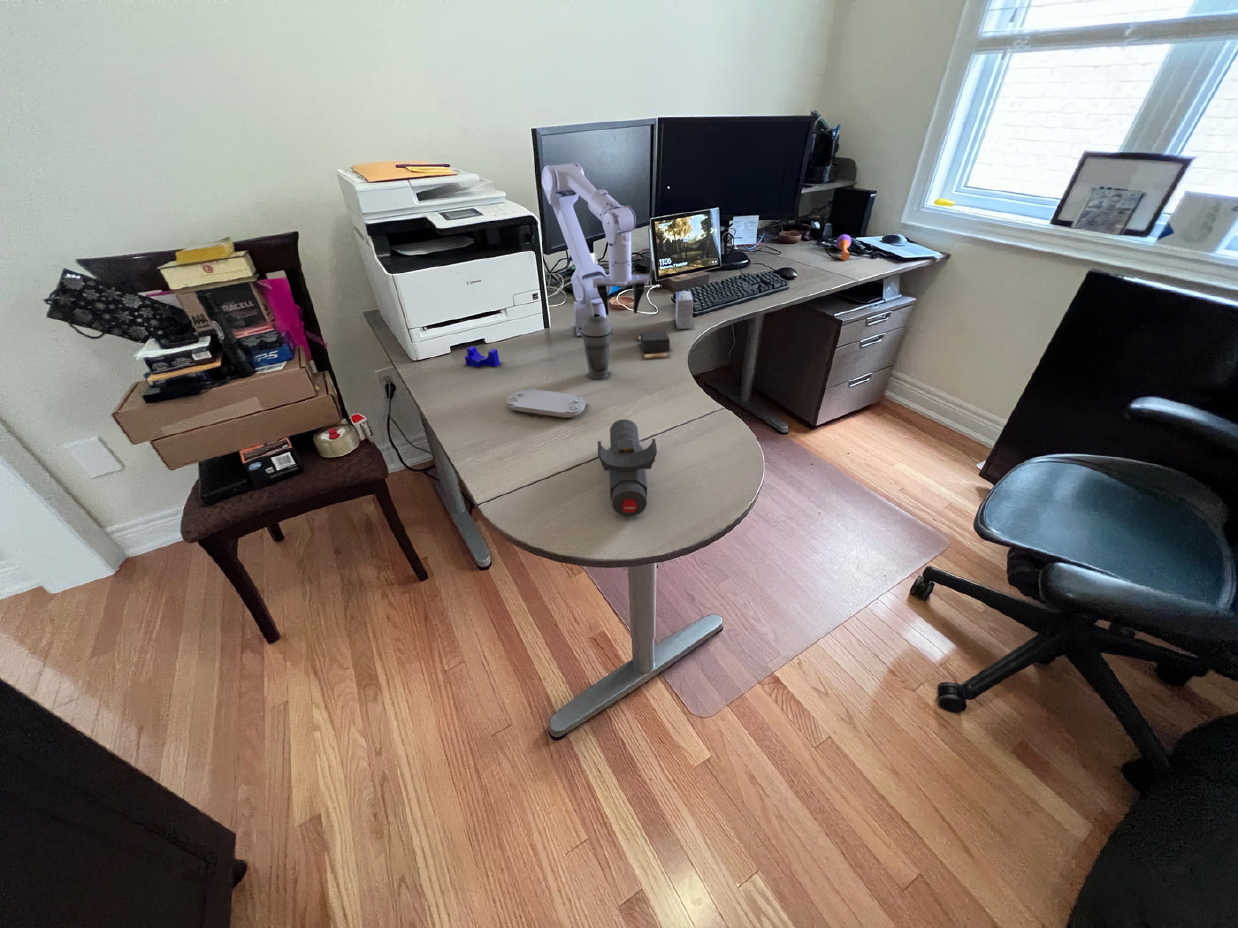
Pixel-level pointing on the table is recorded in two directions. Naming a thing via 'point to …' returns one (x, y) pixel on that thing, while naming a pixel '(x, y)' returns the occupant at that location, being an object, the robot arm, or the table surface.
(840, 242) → the kendama
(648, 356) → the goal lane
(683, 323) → the medicine box
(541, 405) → the game console
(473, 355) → the cable holder
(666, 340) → the black block
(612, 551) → the table surface
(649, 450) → the laser sight
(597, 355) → the beverage cup
